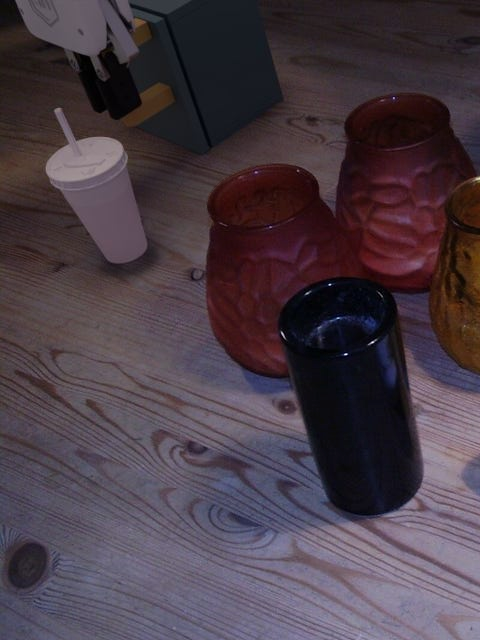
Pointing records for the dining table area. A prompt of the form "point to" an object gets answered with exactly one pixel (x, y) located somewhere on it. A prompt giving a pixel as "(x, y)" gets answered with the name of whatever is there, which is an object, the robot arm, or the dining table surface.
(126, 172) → the smoothie
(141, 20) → the cupboard door
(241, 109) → the cupboard
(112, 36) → the robot arm
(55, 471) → the dining table surface
